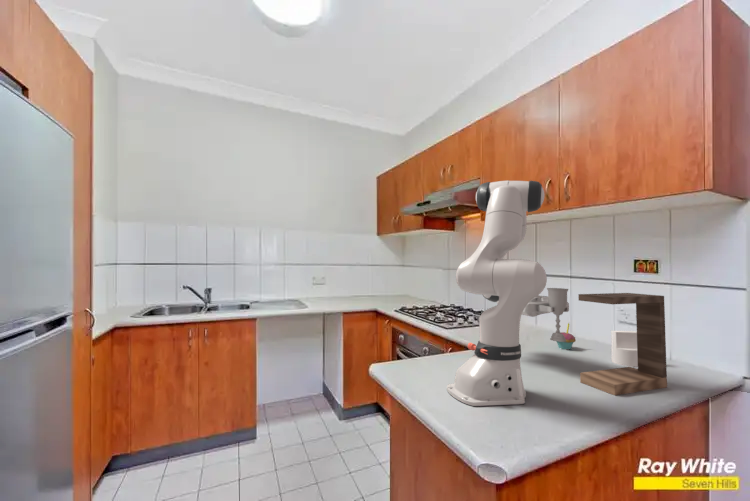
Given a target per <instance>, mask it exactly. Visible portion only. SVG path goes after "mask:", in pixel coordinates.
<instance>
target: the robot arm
mask: <svg viewBox="0 0 750 501" xmlns="http://www.w3.org/2000/svg"><path fill="white" fill-rule="evenodd" d="M544 200H545V190H544V187H543V185H542V184H541V182H539V181H536V180H529V181H527V180H510V179H509V180H499V181H492V182H491V181H487V182H483V183H481V184H480V185H479V186H478V187H477V191H476V192H475V201H476V202H475V203H476V205H477V208H478V209H479V210H480V211H482V212H485V220H484V227H483V233H482V237H481V241H480V243H479V244H478V246H477V248H476V249H475V251H474V252H473V253H472V254H471V255H470V256H469V257H468V258H466V259H465V260H464V261H462V262H461V263H460V264H459V265H458V267H457V269H456V271H455V280H456V283H457V286H458V288H459V289H460V290H461V291H463V292H466V293H469V294H473V295H481V296H483V297H484V299H486V300H487V301H490V302H492V303H496V304H497V305H495V306H492V307H490V308H488V309H486V310H484V311H482V312H481V314H480V315H479V318H478V320H479V321H478V322H479V324H478V326H479V340H478V341H477V344H475V343H473V342H468V344H467V348H468V350H471V351H474V354H473V355H472V356H471V357H470V358H469V359H467V360H466V361H465V362H464V363H463V364H462V365H460V366H459V367H458V368H457V369H456V372H455V377H454V382H453V383H449V384H447V385H446V391H447V393H448V394H449V395H450V396H452V397H453V398H454V399H455V400H458V401H459V402H462V403H463V404H466V405H468V406H473V407H479V406H480V407H482V406H484V407H485V406H503V405H506V406H507V405H523V404H525V403H526V399H525V398H527V393H526V389H525V385H524V381H523V375H522V368H521V357H522V344H520V327H521V318H522V316H527V317H532V318H535V317H538V316H540V315H543V314H551V313H553V312H554V311H555V310H554V309H555V308H554V307H551V306H550V305H549V302H548V296H547V295H546V296H545V295H540V294H542V292H543V291H544V290H545V288H546V285H547V279H548V276H547V273H546V271H545V270H546V269H544V267H543V266H542V264H541V263H540V262H538V261H534V260H529V259H522V258H504V257H505V256H506V255H507V254H508V253H509V252H510V251H513V250H514V249H516V248H517V247H518V246H519V244H520V243H522V241H523V240H524V239H525V236H526V233H527V213H533V212H536V211H538V210H539V209H541V207H542V205H543V203H544ZM569 311H570V303H569V302H568V301H567V305H566V308H565V310H564V312H563V313H568V312H569Z"/></svg>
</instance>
